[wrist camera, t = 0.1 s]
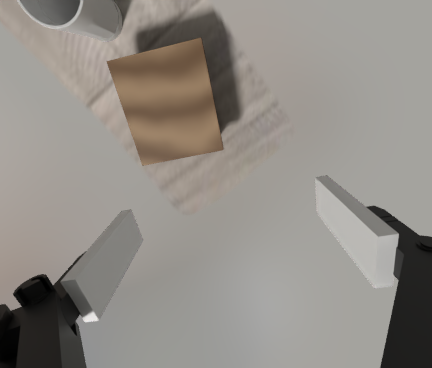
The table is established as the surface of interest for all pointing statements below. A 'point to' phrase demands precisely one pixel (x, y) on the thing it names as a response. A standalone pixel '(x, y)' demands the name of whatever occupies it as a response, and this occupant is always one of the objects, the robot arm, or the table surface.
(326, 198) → the robot arm
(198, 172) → the table surface
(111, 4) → the cup
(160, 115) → the low wooden table
